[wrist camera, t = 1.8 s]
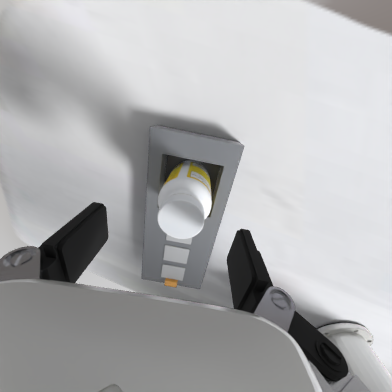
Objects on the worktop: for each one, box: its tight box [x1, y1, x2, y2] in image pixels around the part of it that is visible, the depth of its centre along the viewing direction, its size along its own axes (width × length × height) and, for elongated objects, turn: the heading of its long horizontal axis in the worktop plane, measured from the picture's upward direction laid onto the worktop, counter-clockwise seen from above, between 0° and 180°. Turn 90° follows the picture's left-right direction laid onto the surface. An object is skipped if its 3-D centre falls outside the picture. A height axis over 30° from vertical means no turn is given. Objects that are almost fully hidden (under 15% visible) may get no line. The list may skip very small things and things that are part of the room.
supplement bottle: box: [158, 161, 212, 239], centre depth 18 cm, size 5×5×10 cm
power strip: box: [142, 125, 244, 289], centre depth 23 cm, size 24×10×4 cm, turn 169°
